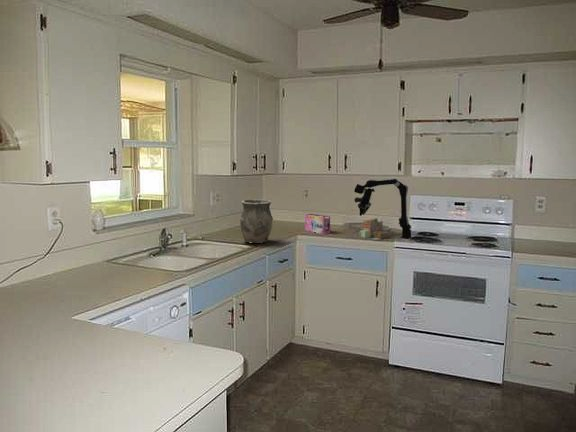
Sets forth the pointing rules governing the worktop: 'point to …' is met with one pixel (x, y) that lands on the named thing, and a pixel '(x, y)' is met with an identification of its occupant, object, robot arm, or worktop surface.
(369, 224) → the stack of blocks
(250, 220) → the clay pot
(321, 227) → the gum box
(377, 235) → the walnut base block
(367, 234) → the sage cube
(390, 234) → the grey cube
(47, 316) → the worktop surface
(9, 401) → the worktop surface
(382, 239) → the slate card
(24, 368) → the worktop surface
